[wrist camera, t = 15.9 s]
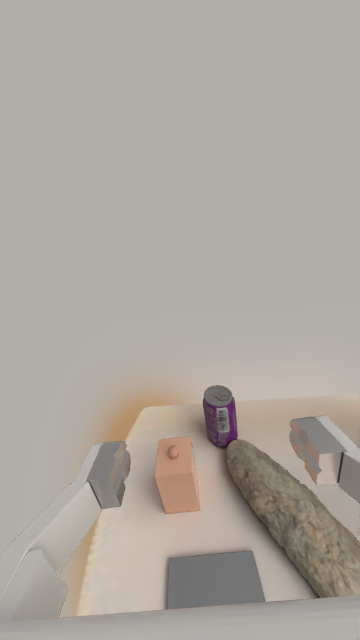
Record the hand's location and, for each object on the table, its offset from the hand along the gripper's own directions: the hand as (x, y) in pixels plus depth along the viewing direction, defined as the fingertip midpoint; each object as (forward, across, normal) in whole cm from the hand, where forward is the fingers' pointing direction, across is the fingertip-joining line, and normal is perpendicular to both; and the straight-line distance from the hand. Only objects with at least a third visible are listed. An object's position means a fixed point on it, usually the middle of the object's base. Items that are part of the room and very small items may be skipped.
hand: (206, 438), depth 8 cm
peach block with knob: (+15, +6, +32) cm, 36 cm away
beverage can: (+25, -4, +32) cm, 41 cm away
